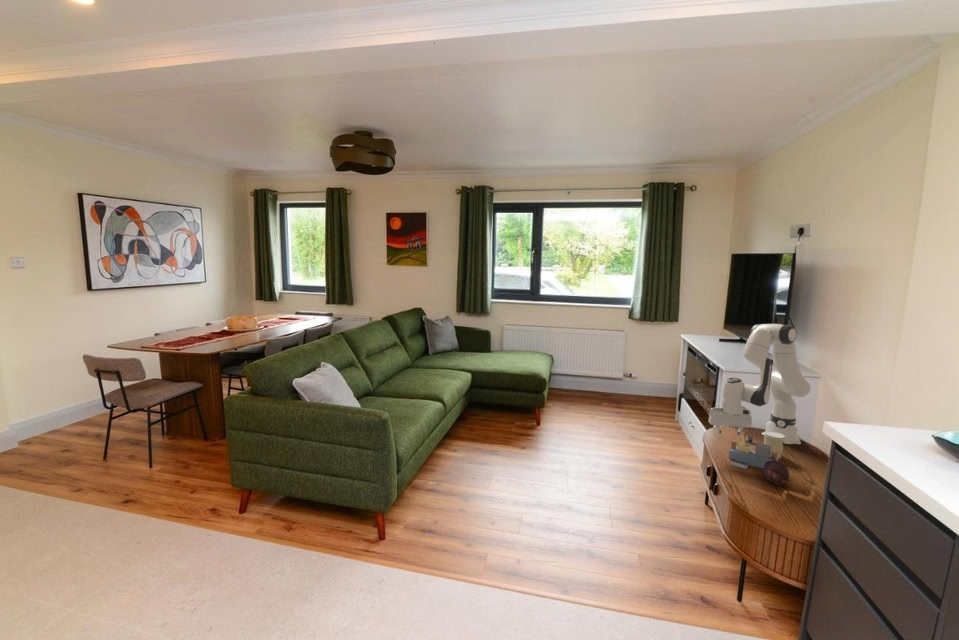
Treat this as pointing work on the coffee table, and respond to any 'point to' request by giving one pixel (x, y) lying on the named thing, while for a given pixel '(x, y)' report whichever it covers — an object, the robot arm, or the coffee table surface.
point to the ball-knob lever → (750, 439)
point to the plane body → (753, 455)
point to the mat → (739, 465)
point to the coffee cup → (775, 442)
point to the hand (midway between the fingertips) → (728, 433)
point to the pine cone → (776, 472)
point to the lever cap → (744, 447)
